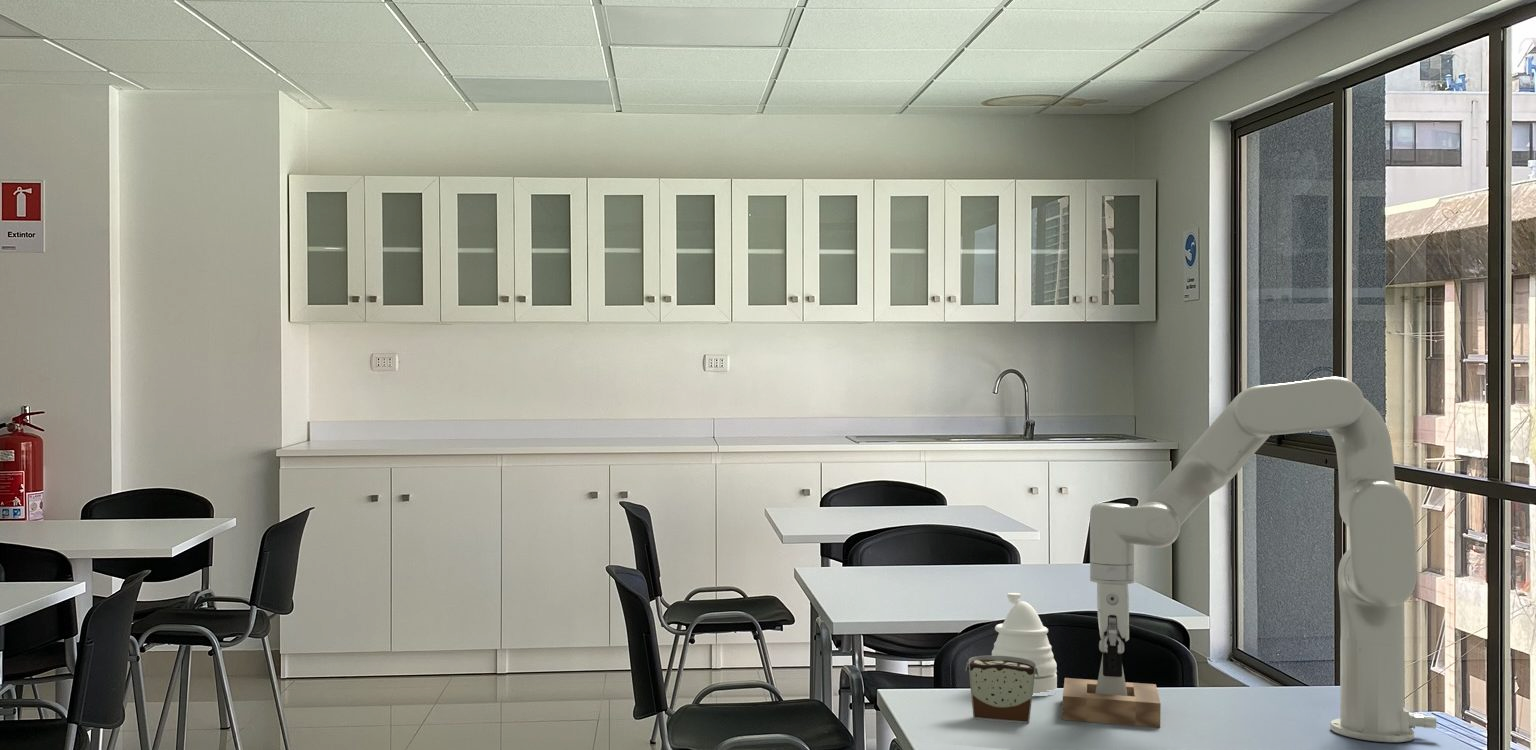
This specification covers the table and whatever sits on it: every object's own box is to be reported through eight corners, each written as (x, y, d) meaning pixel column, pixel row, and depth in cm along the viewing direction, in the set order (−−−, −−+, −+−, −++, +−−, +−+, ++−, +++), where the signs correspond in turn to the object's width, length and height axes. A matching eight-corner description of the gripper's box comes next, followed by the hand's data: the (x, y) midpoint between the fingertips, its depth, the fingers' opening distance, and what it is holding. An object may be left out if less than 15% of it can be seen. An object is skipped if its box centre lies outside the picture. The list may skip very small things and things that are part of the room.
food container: (1040, 716, 212) (1040, 657, 212) (1038, 724, 206) (1038, 664, 206) (968, 710, 215) (969, 652, 215) (964, 717, 209) (965, 659, 210)
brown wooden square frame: (1155, 706, 221) (1155, 684, 221) (1160, 727, 205) (1160, 703, 205) (1064, 699, 225) (1064, 677, 225) (1062, 719, 209) (1062, 695, 209)
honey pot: (975, 689, 232) (976, 594, 233) (1008, 679, 242) (1009, 588, 243) (1036, 700, 224) (1038, 601, 225) (1068, 689, 234) (1069, 595, 235)
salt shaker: (1129, 718, 211) (1129, 642, 212) (1094, 715, 213) (1095, 640, 213) (1127, 710, 217) (1127, 637, 218) (1093, 708, 218) (1094, 635, 219)
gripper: (1135, 580, 207) (1135, 682, 206) (1132, 568, 223) (1132, 663, 223) (1089, 578, 209) (1089, 679, 208) (1090, 567, 225) (1090, 660, 224)
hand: (1112, 671), depth 215 cm, fingers open, 9 cm apart
